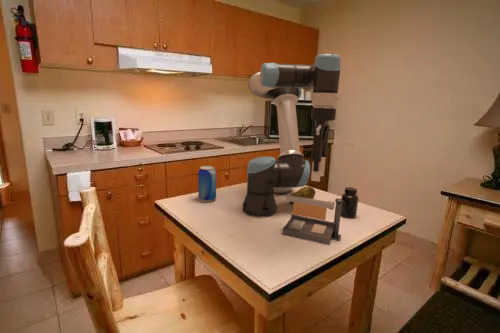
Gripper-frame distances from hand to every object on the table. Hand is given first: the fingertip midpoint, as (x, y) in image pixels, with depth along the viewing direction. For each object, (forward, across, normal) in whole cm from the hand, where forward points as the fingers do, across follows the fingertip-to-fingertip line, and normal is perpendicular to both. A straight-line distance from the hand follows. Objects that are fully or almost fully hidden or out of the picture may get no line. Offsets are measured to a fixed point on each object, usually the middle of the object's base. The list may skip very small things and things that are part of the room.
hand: (317, 178), depth 94 cm
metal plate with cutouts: (+23, +6, +2) cm, 24 cm away
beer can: (+23, +17, +54) cm, 61 cm away
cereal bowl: (+23, +47, +28) cm, 59 cm away
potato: (+23, +35, +13) cm, 44 cm away
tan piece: (+17, +6, +3) cm, 18 cm away
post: (+23, +6, -7) cm, 25 cm away
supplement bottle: (+23, +30, -9) cm, 39 cm away
